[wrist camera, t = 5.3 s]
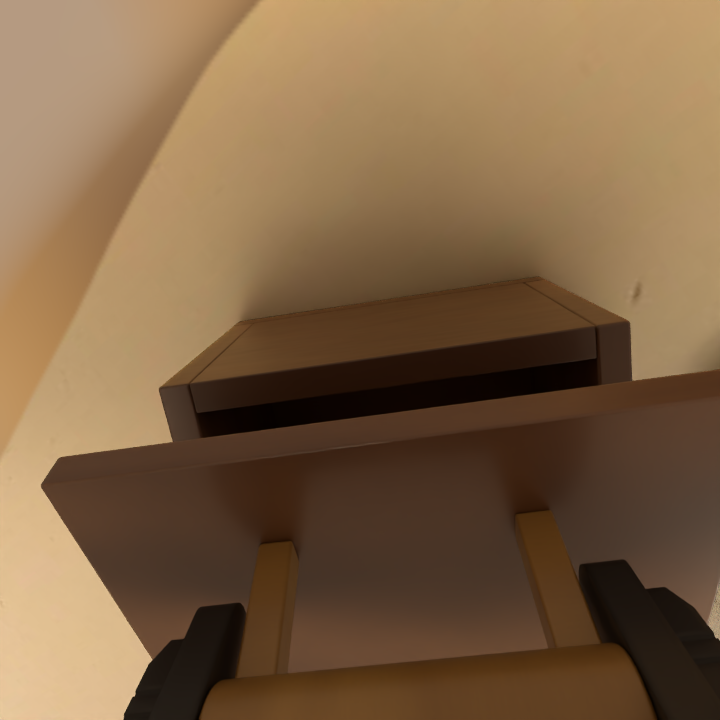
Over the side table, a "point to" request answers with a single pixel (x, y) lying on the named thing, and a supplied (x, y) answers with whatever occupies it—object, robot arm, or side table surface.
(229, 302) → the side table surface
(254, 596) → the chest lid
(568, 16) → the side table surface
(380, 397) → the wooden chest
